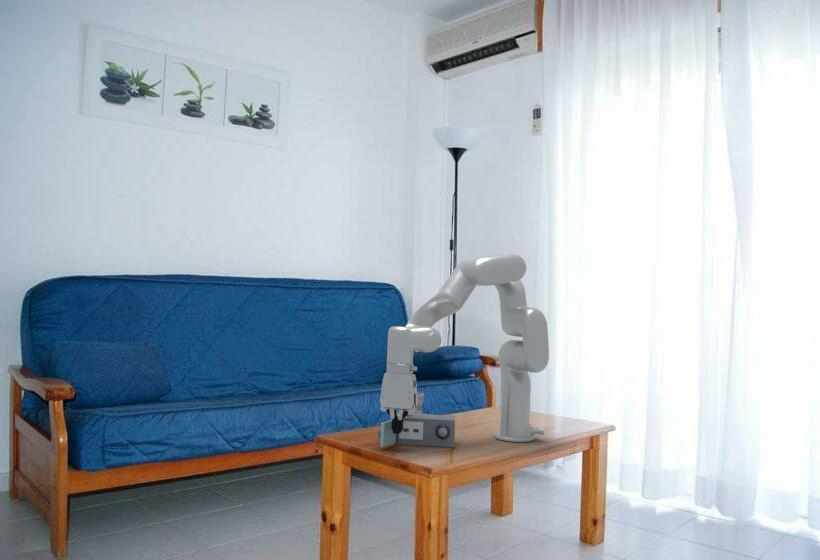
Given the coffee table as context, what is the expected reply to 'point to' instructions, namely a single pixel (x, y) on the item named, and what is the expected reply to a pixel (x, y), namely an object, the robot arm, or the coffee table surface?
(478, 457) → the coffee table surface
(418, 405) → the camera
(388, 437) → the side door
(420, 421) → the housing
